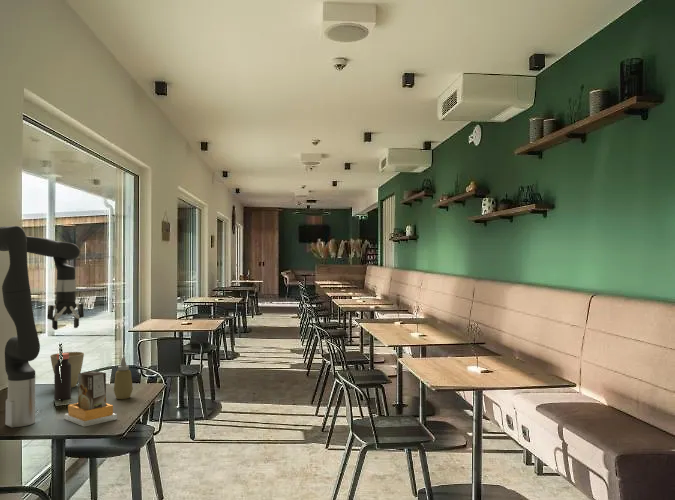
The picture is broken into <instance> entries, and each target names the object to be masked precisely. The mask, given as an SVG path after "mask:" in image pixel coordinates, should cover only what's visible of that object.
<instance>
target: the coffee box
mask: <svg viewBox="0 0 675 500" xmlns="http://www.w3.org/2000/svg"><path fill="white" fill-rule="evenodd" d="M77 403H78V407H79V408H82V409H85V410H89V409H94V408H99V407H104V406H106V403H107V373H106V372H104V371H103V372H102V371H93V370H89V371H83V372H80V373H79V374H78V382H77Z"/></svg>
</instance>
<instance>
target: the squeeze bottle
mask: <svg viewBox="0 0 675 500" xmlns="http://www.w3.org/2000/svg"><path fill="white" fill-rule="evenodd" d="M133 391H134V390H133V377H132V371H131V370H130V365H127V361H126V358H125V357H122V358H121V361H120V365H118V366H117V370H116V371H115V377H114V384H113V393H114V395H115V398H116V399H117V400H127V399H129V398H131V395H132V393H133Z"/></svg>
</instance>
